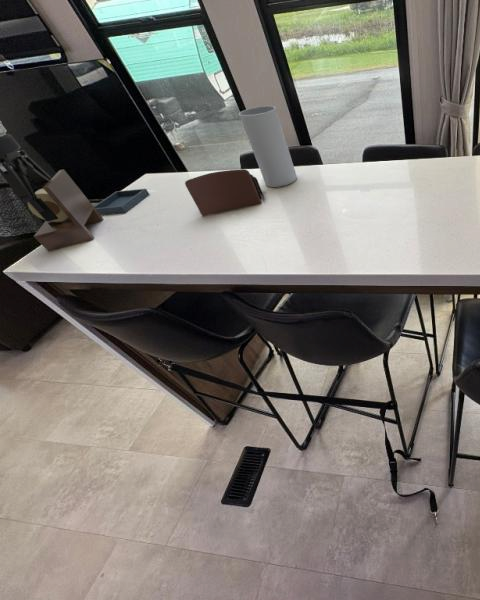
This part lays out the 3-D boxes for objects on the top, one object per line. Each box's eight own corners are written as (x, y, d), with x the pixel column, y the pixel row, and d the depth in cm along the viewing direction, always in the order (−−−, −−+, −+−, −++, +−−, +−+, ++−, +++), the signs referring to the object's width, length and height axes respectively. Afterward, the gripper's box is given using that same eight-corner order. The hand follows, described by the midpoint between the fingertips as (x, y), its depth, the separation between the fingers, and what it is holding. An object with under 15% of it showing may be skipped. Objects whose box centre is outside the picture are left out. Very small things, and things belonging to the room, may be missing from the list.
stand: (52, 255, 99) (-6, 198, 86) (67, 233, 110) (17, 178, 97) (97, 244, 102) (47, 186, 89) (106, 223, 113) (63, 169, 100)
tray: (126, 212, 118) (121, 206, 117) (93, 215, 119) (88, 209, 117) (149, 194, 130) (145, 188, 128) (120, 197, 130) (116, 191, 129)
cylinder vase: (269, 177, 132) (243, 108, 115) (299, 173, 132) (278, 104, 116) (263, 189, 123) (234, 117, 106) (295, 185, 123) (272, 112, 106)
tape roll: (44, 225, 98) (18, 198, 92) (49, 219, 102) (24, 192, 96) (78, 217, 101) (55, 190, 95) (82, 211, 104) (59, 184, 98)
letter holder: (263, 208, 111) (247, 167, 101) (204, 220, 108) (181, 179, 98) (264, 196, 118) (248, 157, 109) (208, 208, 115) (187, 168, 106)
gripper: (-12, 144, 78) (61, 224, 93) (24, 124, 94) (81, 195, 109) (-51, 151, 76) (30, 232, 91) (-8, 130, 92) (55, 201, 107)
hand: (58, 212), depth 100 cm, fingers open, 11 cm apart
